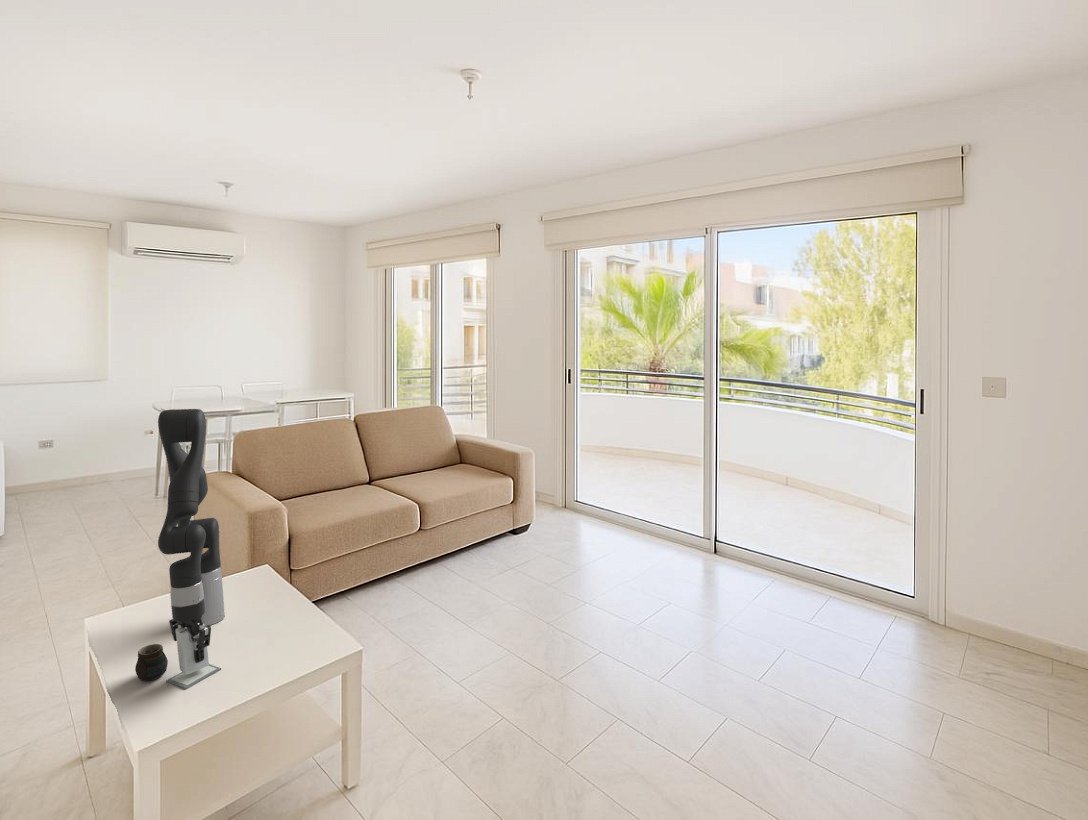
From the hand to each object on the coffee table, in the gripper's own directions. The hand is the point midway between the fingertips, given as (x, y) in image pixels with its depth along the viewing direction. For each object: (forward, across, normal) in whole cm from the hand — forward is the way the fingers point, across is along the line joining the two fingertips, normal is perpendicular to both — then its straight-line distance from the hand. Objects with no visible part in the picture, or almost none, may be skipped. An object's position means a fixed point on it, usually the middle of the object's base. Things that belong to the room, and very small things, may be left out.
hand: (192, 658), depth 160 cm
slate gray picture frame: (+5, 0, 0) cm, 5 cm away
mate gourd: (+5, -10, -5) cm, 12 cm away
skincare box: (+3, 0, 0) cm, 3 cm away
